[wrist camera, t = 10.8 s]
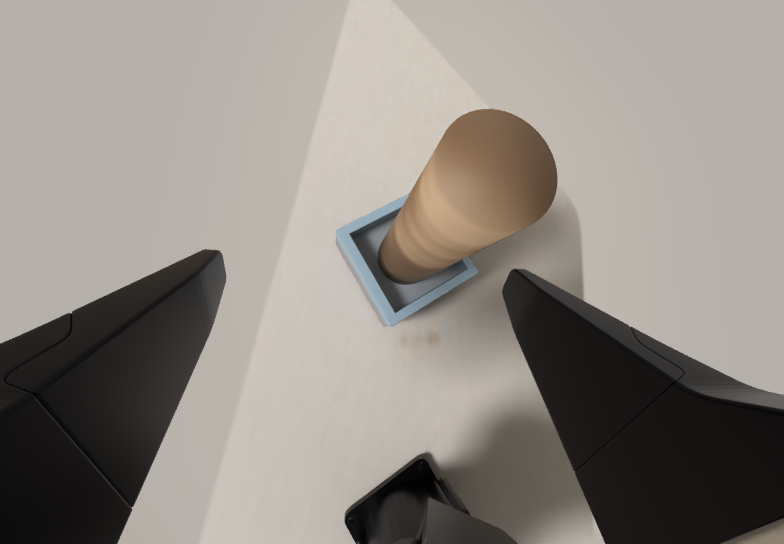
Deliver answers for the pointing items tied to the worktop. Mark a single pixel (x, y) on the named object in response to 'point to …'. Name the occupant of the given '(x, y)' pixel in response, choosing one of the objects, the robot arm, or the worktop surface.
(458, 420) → the worktop surface
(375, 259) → the light blue open box
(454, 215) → the pillar
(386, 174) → the worktop surface
